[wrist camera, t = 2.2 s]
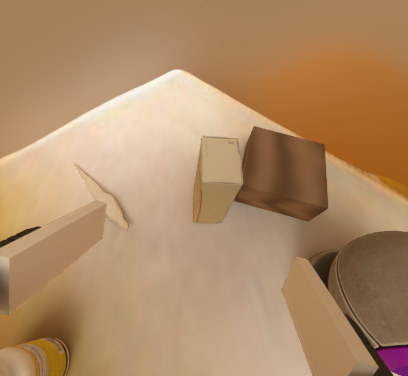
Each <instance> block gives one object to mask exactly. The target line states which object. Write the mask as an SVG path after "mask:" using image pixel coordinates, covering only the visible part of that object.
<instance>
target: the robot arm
mask: <svg viewBox="0 0 408 376" xmlns="http://www.w3.org/2000/svg"><path fill="white" fill-rule="evenodd" d="M106 206H107V203H105V202H101V201H98V200H95V201H93V202H91V203H89V204H87V205H85V206H83V207H81V208H79V209H77V210H75V211H73V212H71V213H69V214H67V215H65V216H63V217H61V218H59V219H57V220H55V221H53V222H51V223H49V224H47V225H45V226H43V227H39V226H38V227H34V228H30V229H26V230H24V231H22V232H20V233H18V234H16V235H14V236H11V237H9V238H7V240H3V241H1V242H0V313H2V314H6V315H11V314H12V313H13V312H14V311H15V310H17V309H18V308H19V307H20V306H21V305H23V304H24V303H25V302H26V301H27V300H29V299H30V298H31V297H32V296H33V295H35V294H36V293H37V292H38V291H39V290H41V289H42V288H43V287H44V286H45V285H47V284H48V283H49V282H50V281H51V280H53V279H54V278H55V277H56V276H57V275H59V274H60V273H61V272H62V271H64V270H65V269H66V268H67V267H68V266H70V265H71V264H72V263H73V262H74V261H76V260H77V259H78V258H79V257H80V256H82V255H83V254H84V253H85V252H86V251H88V250H89V249H90V248H91V247H92V246H94V245H95V244H96V243H97V242H98V241H100V240H101V239H102V235H103V228H104V221H105V213H106ZM282 292H283V295H284V297H285V300H286V303H287V306H288V308H289V311H290V314H291V317H292V319H293V322H294V325H295V328H296V331H297V333H298V336H299V339H300V342H301V344H302V347H303V350H304V353H305V355H306V358H307V361H308V364H309V367H310V369H311V372H312V375H313V376H393V374H392V373H391V371H390V370H389V369H388V367H387V366H386V364H385V363H384V361H383V360H382V359H381V357H380V356H379V354H378V353H377V351H376V350H375V348H374V347H373V346H372V345H371V343H370V341H369V340H368V338H367V337H365V334H364V333H363V331H362V330H361V328H360V327H359V325H358V324H357V323H356V322H355V321H354V320H353V319H352V318H351V317H350V316H349V315H348V314H344V313H343V312H342V311H341V309H340V308H339V306H338V305H337V303H336V302H335V300H334V299H333V297H332V296H331V294H330V293H329V291H328V289H327V288H326V286H325V285H324V283H323V282H322V280H321V279H320V277H319V276H318V274H317V273H316V271H315V270H314V268H313V267H312V265H311V264H310V262H309V261H308V259H305V258H301V257H298V256H296V258H295V260H294V262H293V265H292V267H291V270H290V272H289V274H288V277H287V279H286V281H285V284H284V286H283V288H282Z"/></svg>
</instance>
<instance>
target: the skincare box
mask: <svg viewBox="0 0 408 376" xmlns="http://www.w3.org/2000/svg"><path fill="white" fill-rule="evenodd" d="M242 185H243V173H242V163H241V155H240V148H239V141H238V138H225V137H210V136H202V139H201V147H200V154H199V160H198V166H197V173H196V178H195V184H194V204H193V222H198V223H221V221H222V220H223V218H224V216H225V214H226V213H227V211H228V209H229V207H230V206H231V204H232V202H233V200H234V199H235V197H236V195H237V193H238V192H239V190H240V188H241V187H242Z"/></svg>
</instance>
